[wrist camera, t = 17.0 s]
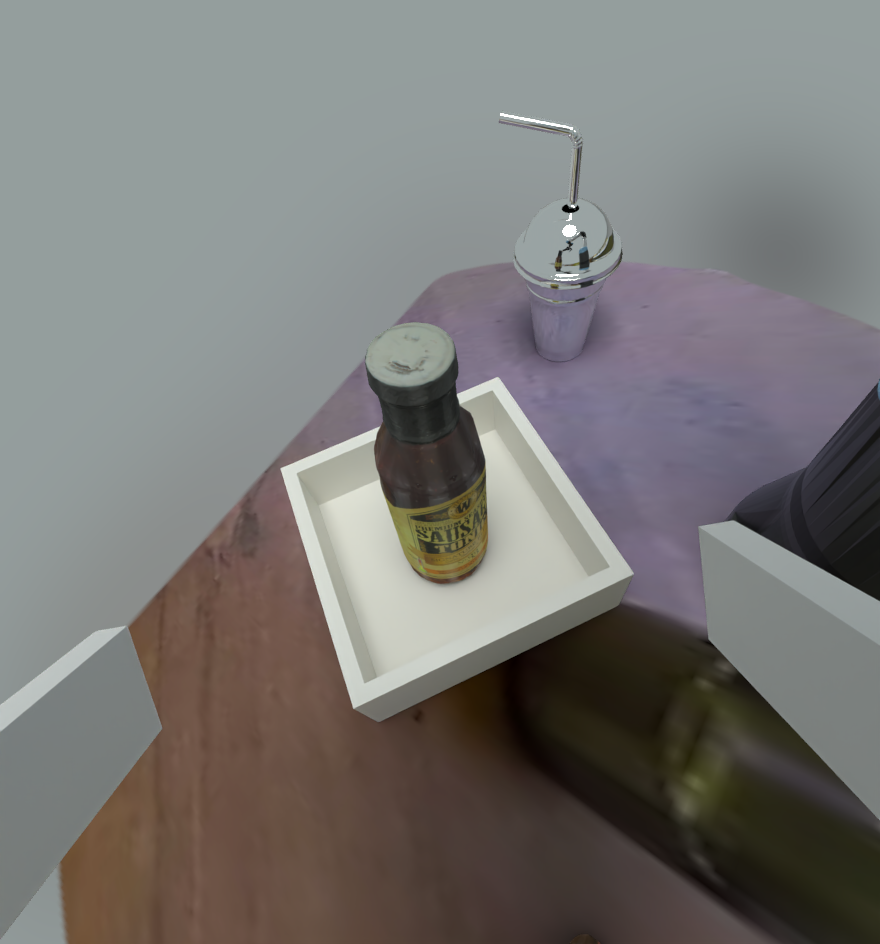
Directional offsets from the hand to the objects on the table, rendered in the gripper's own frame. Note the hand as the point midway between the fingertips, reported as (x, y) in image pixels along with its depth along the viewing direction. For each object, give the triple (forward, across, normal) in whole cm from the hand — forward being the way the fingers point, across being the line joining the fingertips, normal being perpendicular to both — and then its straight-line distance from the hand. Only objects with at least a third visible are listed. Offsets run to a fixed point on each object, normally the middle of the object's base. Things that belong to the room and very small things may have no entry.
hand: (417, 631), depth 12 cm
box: (+27, -1, -8) cm, 28 cm away
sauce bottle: (+26, 0, -8) cm, 27 cm away
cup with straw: (+41, +13, +5) cm, 43 cm away
